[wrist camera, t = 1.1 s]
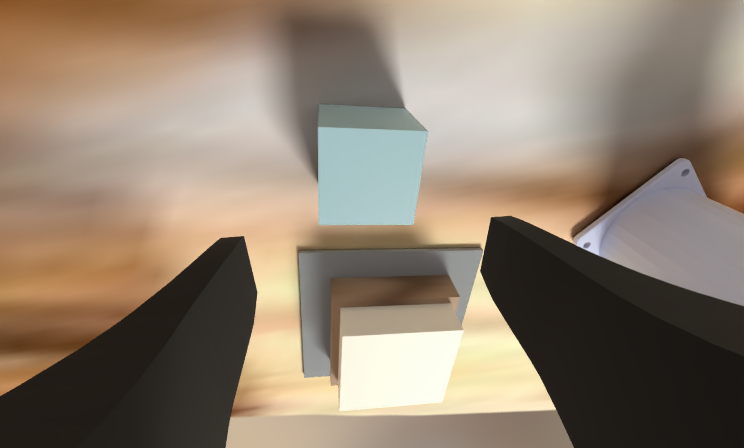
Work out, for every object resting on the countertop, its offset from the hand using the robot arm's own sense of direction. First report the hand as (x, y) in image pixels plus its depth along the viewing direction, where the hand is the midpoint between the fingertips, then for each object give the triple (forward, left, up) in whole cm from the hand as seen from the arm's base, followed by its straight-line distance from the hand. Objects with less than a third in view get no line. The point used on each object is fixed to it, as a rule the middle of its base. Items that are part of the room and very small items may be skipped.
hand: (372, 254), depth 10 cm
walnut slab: (-10, +7, -9) cm, 16 cm away
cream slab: (-10, +7, -7) cm, 15 cm away
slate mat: (-10, +7, -9) cm, 16 cm away
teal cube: (0, -1, -10) cm, 10 cm away
